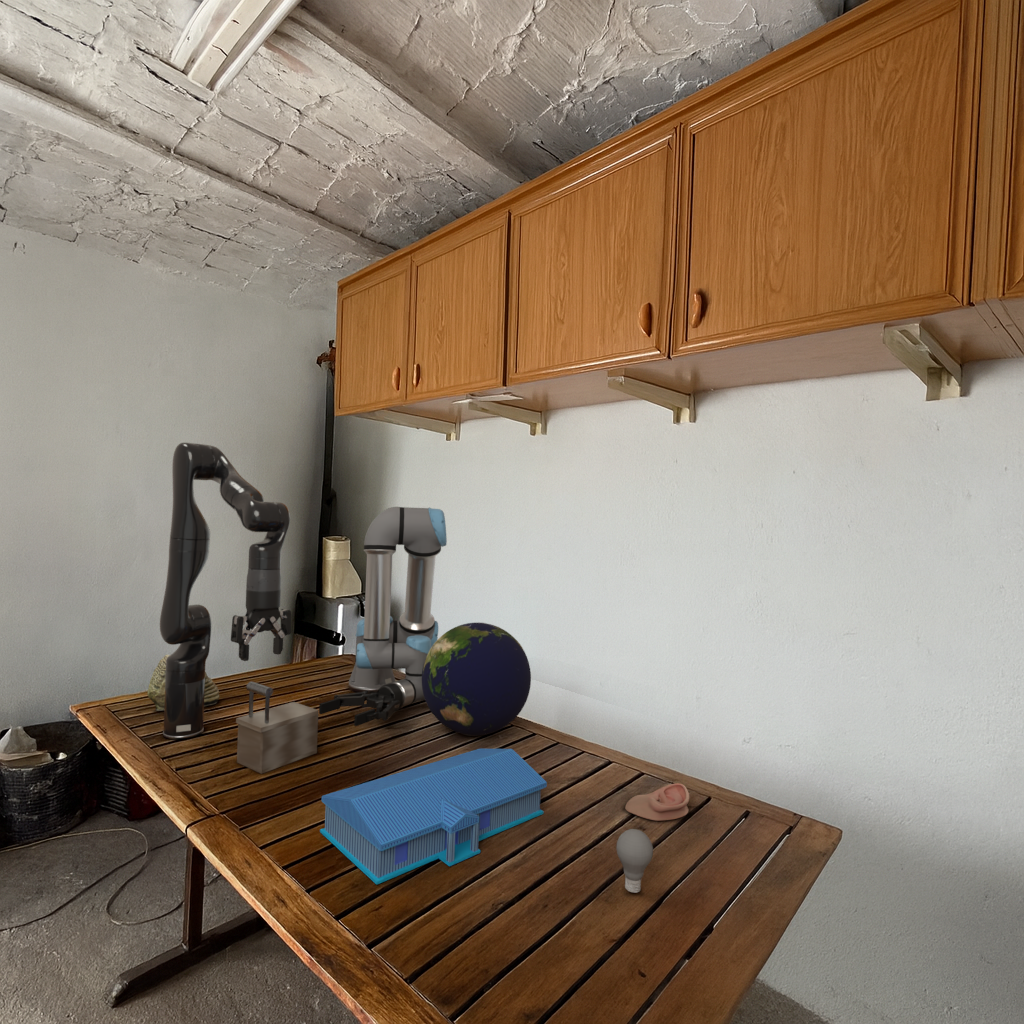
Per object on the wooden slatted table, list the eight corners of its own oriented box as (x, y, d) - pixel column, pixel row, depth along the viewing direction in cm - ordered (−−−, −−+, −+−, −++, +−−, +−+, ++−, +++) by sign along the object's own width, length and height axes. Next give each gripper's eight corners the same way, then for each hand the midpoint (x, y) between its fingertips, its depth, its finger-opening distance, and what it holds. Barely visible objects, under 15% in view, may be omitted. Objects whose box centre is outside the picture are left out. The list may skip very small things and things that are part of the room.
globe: (398, 740, 166) (402, 626, 165) (451, 707, 194) (455, 609, 193) (502, 762, 155) (508, 640, 154) (543, 724, 182) (548, 620, 182)
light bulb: (610, 879, 108) (613, 822, 108) (644, 879, 109) (647, 822, 109) (619, 902, 102) (622, 840, 102) (655, 901, 103) (658, 840, 103)
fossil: (144, 707, 182) (145, 655, 182) (212, 696, 194) (213, 647, 194) (151, 716, 175) (153, 662, 175) (221, 703, 188) (223, 653, 188)
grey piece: (260, 732, 143) (262, 691, 142) (235, 722, 148) (237, 682, 148) (318, 714, 156) (319, 676, 156) (293, 706, 161) (295, 669, 161)
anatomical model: (625, 797, 130) (626, 774, 142) (624, 816, 131) (626, 791, 142) (692, 806, 128) (688, 782, 139) (691, 826, 128) (687, 800, 139)
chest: (261, 774, 143) (262, 732, 143) (236, 762, 149) (238, 722, 148) (317, 753, 156) (318, 714, 156) (292, 743, 161) (293, 706, 161)
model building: (386, 894, 102) (389, 832, 102) (318, 830, 120) (320, 778, 120) (555, 819, 128) (557, 770, 128) (478, 776, 146) (480, 733, 146)
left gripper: (245, 592, 139) (242, 665, 139) (299, 586, 151) (297, 654, 151) (225, 588, 143) (223, 659, 143) (280, 583, 155) (277, 649, 155)
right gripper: (426, 718, 177) (370, 740, 159) (363, 699, 191) (305, 718, 173) (427, 691, 177) (371, 711, 159) (364, 674, 191) (306, 690, 173)
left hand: (261, 657), depth 147 cm, fingers open, 8 cm apart
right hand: (337, 714), depth 166 cm, fingers open, 13 cm apart
